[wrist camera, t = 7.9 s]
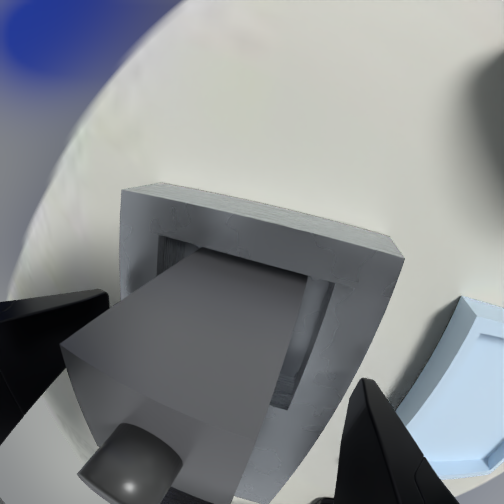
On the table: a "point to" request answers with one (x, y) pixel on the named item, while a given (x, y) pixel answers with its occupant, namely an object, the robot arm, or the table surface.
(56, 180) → the table surface
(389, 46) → the table surface
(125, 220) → the grey socket base
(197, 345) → the plug
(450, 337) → the tray
